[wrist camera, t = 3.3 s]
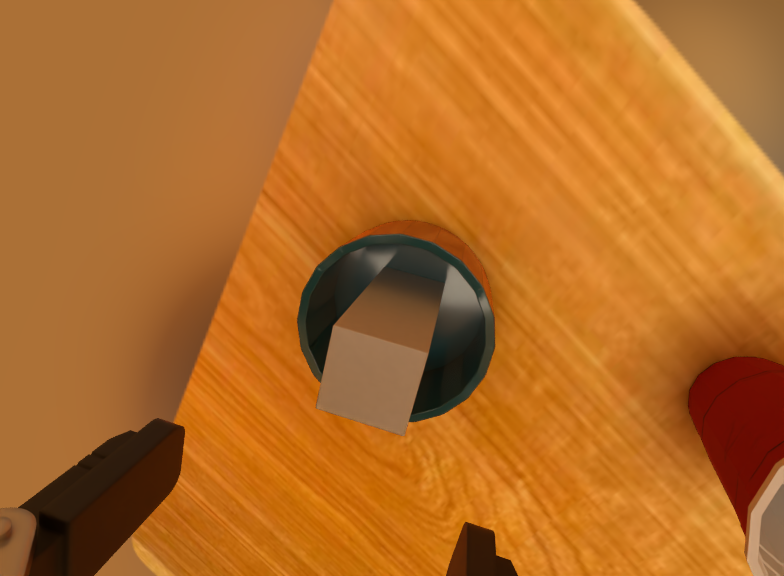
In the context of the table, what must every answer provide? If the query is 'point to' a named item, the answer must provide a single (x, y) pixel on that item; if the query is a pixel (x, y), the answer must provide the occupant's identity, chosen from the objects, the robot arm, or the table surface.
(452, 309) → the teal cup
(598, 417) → the table surface
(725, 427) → the plastic cup
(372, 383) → the block
